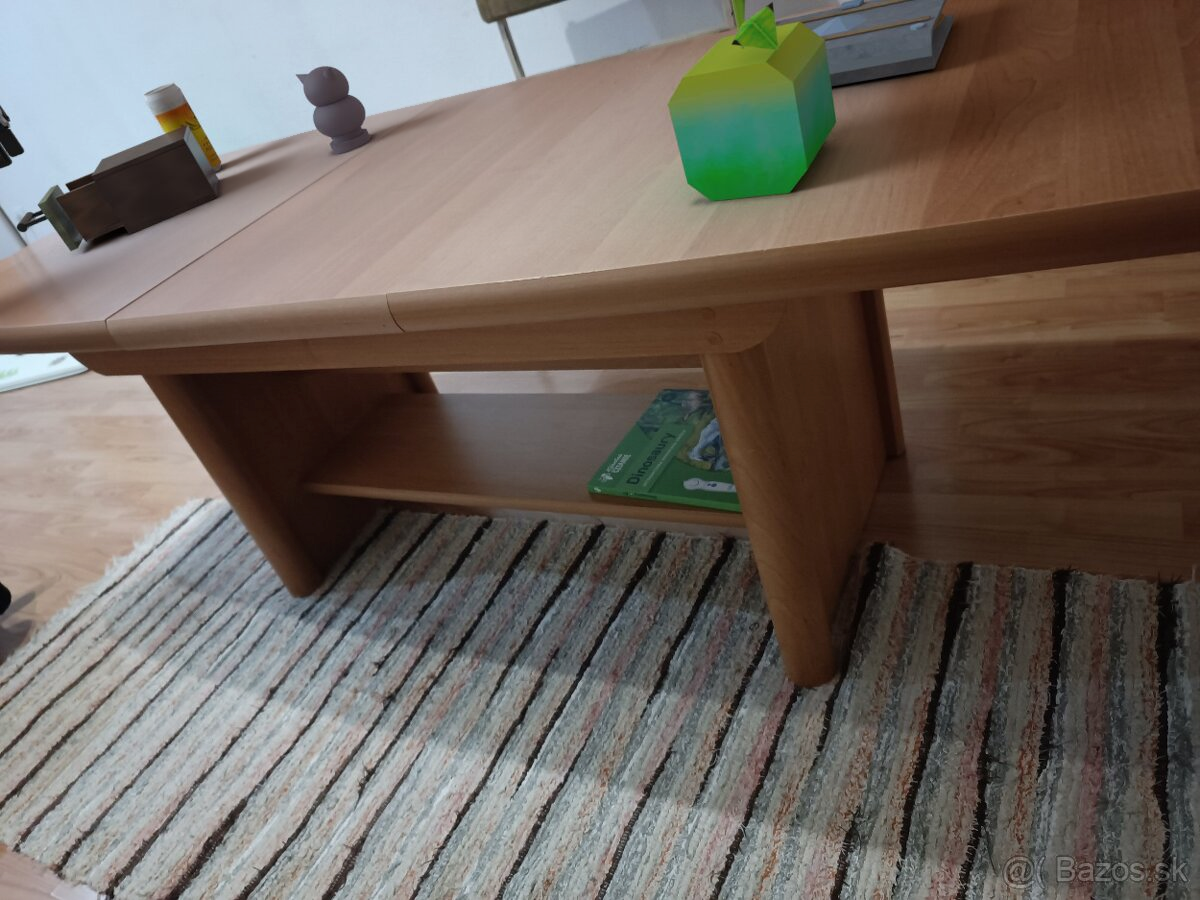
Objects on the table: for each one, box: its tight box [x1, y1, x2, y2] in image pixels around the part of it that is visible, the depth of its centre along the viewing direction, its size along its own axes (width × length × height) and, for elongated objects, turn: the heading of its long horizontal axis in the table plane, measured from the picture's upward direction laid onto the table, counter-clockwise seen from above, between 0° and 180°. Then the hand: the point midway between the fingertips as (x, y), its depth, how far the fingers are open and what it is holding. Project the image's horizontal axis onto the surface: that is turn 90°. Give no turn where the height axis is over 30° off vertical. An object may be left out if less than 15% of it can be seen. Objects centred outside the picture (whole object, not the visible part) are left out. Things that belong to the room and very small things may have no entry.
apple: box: [667, 0, 837, 202], centre depth 74 cm, size 11×10×15 cm
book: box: [775, 0, 955, 87], centre depth 94 cm, size 21×16×5 cm
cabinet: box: [91, 125, 220, 235], centre depth 139 cm, size 15×13×10 cm
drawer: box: [16, 171, 124, 252], centre depth 137 cm, size 19×11×8 cm, turn 111°
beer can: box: [143, 82, 222, 173], centre depth 151 cm, size 6×6×15 cm
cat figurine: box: [295, 65, 372, 155], centre depth 134 cm, size 8×8×12 cm
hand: (12, 160), depth 131 cm, fingers open, 8 cm apart
